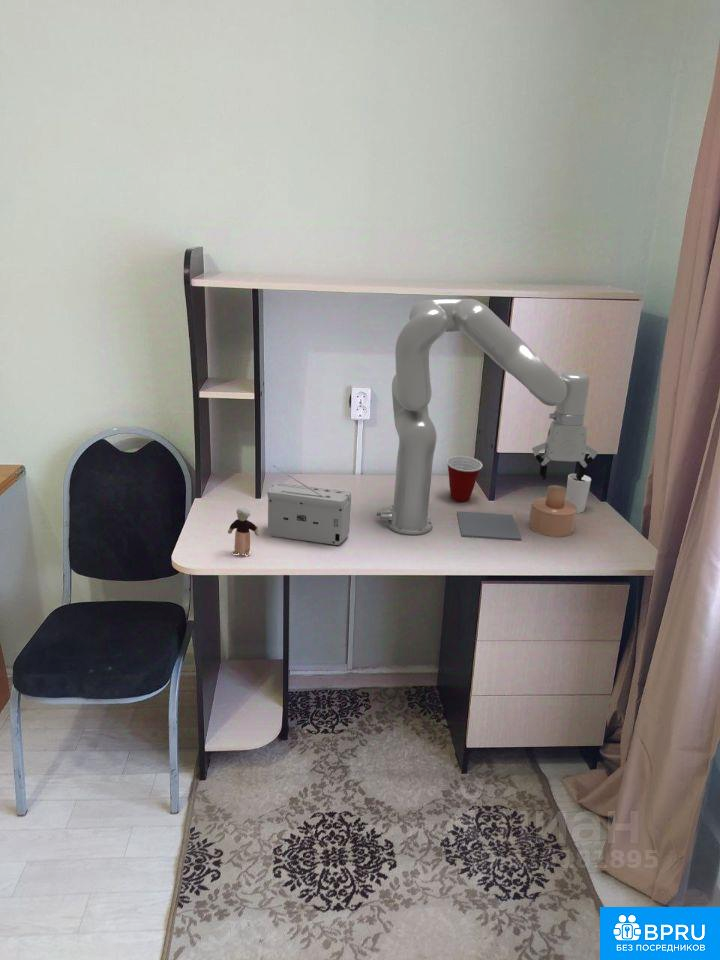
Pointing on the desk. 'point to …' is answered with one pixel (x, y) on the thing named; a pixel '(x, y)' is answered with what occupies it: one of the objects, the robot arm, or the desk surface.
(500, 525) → the slate mat
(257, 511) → the desk surface
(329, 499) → the stereo radio cassette player
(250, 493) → the desk surface
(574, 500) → the white cylinder
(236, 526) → the grandmother figurine
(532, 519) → the terracotta cover
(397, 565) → the desk surface
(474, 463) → the plastic cup
